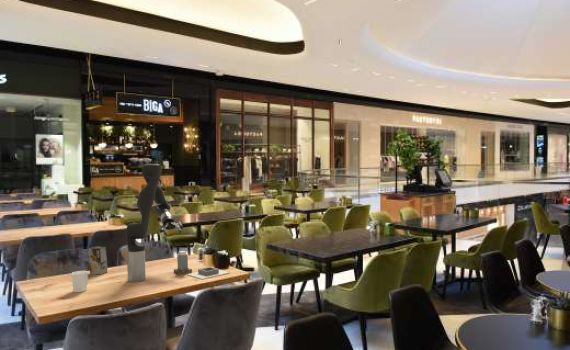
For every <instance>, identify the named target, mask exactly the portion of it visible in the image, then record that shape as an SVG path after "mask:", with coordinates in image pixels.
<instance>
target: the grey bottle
mask: <svg viewBox="0 0 570 350" xmlns="http://www.w3.org/2000/svg"><path fill="white" fill-rule="evenodd" d="M176 256H177V257H176V258H177V269H178V270H180V271H183V270H188V268H189V264H188V260H189V258H188V257H189V256H188V254H187V251H185V250H180V251H178V254H177V255H176Z"/></svg>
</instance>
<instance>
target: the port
mask: <svg viewBox="0 0 570 350" xmlns="http://www.w3.org/2000/svg"><path fill="white" fill-rule="evenodd" d="M230 273H231V272H230V271H226V270H222V269H220V268H216V267H212V266H208V267H203V268H202V267H201V268H197V271H196V272H191V273H186V276H189V277H193V278H197V279H199V280H205V279H210V278H214V277H218V276H224V275H228V274H230Z"/></svg>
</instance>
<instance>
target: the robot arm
mask: <svg viewBox="0 0 570 350" xmlns="http://www.w3.org/2000/svg"><path fill="white" fill-rule="evenodd" d="M162 171H163V169H162V166H161V164H160V163H145V164H143V166H142V167H141V175H142V176H143V179H144V180H145V183H146V184H147V185H145V187H143V188H142V189H141V190H140V192H139V194H138V197H137V201H136V206H137V209H138V211H139V213H140V216H141V218H140V222H130V223H128V224H127V225H126V229H125V231H126V233H125V234H126V243H127V244H126V245H127V249H128V250H127V252H128V257H127V258H128V263H127V265H126V266H127V269H126V270H127V281H129V282H131V283H134V282H136V283H137V282H143V281H145V280H146V279H147V278H146V276H147V275H146V249H145V248H146V247H145V245H144V244H142V243H140V242H138V241H137V240H142V239H145V238H146V237H147V233H148V231H149V225H150V224H149V222H150V216H151V213H152V209H153V210H154V212H155V215H157V216H158V217H159V218H160V222H161V223H162V225H161V224H158V230H159V233H160V234H162V233H163V235H164V236H165V237H166V236H168V235H167V234H168V233H167V232H168V231H170V230H175V231H178V233H179V234H181V232H182V230H183V227H184V226H183V224H182V222H181V221H178V222H175V219H174V217H173V215H172V214H171V212H170V210H171V206H170V204H169V202H168V201H167V200H166V197H165V194H164V191H163V189H162V187H160V186H159V181H160V179H161V176H162ZM154 203H155V205H154ZM153 205H154V207H153Z"/></svg>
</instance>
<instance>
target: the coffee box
mask: <svg viewBox="0 0 570 350" xmlns="http://www.w3.org/2000/svg"><path fill="white" fill-rule="evenodd" d="M107 249H108V248H107V246H92V247H88V263H89V274H90V273H91V275H92V274H93V275H103V273H104V274H106V273H108V272H107V271H108V252H107ZM105 272H106V273H105Z"/></svg>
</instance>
